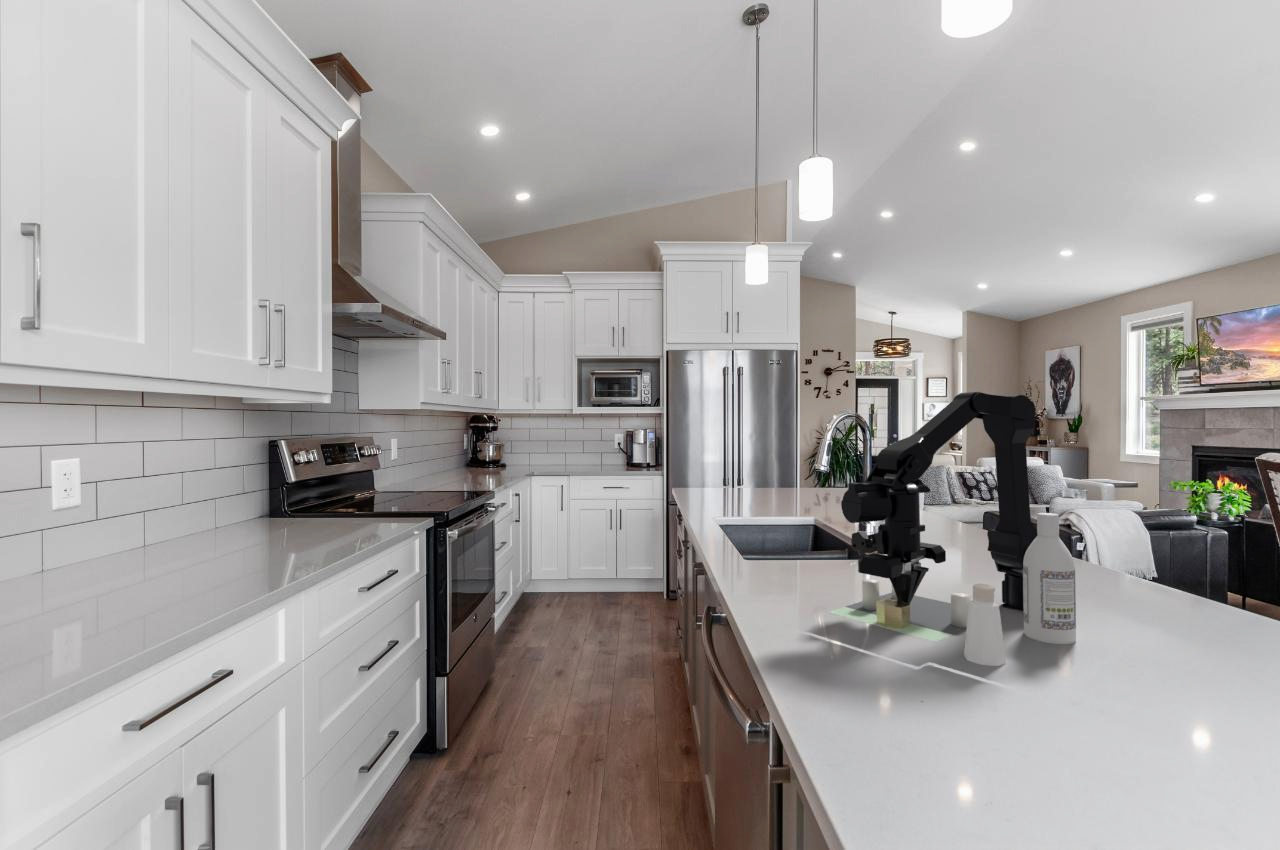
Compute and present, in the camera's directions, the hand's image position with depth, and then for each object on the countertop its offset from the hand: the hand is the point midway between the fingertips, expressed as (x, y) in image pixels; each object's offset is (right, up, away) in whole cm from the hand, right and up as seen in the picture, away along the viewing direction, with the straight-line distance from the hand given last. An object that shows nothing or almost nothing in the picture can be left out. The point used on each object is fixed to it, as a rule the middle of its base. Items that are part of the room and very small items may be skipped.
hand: (904, 608), depth 107 cm
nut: (-3, -2, -2) cm, 4 cm away
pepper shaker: (+4, -2, -19) cm, 19 cm away
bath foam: (+19, -2, -9) cm, 22 cm away
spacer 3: (+8, -2, -3) cm, 9 cm away
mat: (+3, -2, +4) cm, 5 cm away
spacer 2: (+5, -2, +13) cm, 14 cm away
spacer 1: (-3, -2, +7) cm, 8 cm away
